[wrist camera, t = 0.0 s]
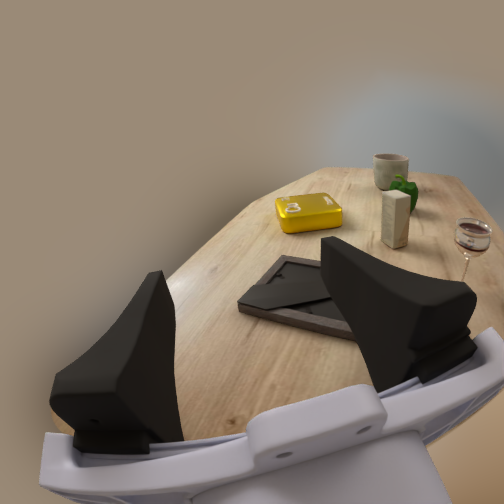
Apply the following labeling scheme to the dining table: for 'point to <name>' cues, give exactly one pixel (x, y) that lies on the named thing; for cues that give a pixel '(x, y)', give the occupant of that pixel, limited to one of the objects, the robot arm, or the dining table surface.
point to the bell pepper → (406, 189)
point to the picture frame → (295, 298)
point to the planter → (389, 169)
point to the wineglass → (471, 238)
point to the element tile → (308, 213)
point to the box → (395, 218)
